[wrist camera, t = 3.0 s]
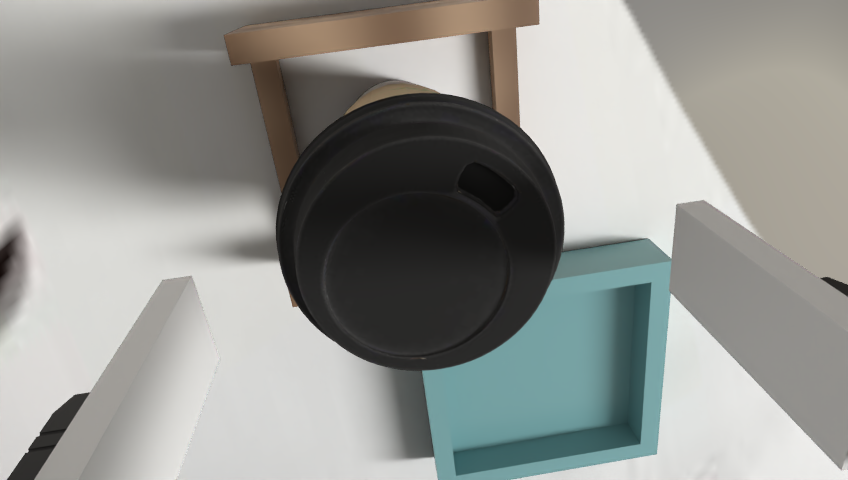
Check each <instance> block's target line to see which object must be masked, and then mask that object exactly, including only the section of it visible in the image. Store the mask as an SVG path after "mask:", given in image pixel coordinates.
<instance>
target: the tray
mask: <svg viewBox="0 0 848 480" xmlns="http://www.w3.org/2000/svg"><path fill="white" fill-rule="evenodd" d="M671 261H672V259H671V258H670V257H669V256H667V255H666V254H665V253H664V252H663V251H662V250H661V249H660V248H658V247H657V246H656V245H655V244H654V243H653V242H652V241H651V240H650V239H644V240H637V241H631V242H624V243H618V244H611V245H605V246H598V247H592V248H585V249H579V250H572V251H566V252H562V253H561V257H560V261H559V264H558V267H557V270H556V272H555V275H554V277H553V280H552V282H551V284H550V285H549V287H548V289H547V292H546V294H545V296H544V298H543V300H542V302H541V303H540V305H539V307H538V308H537V310H536V311H535V313H534V314H533V315H532V317H531V318H530V319H529V320H528V322H527V323H526V324H525V325H524V326H523V327H522V328H521V329H520V330H519V331H518V332H517V333H516V334H515V335H514V336H513V337H511V338H510V339H509V340H508V341H506V342H505V343H504V344H502V345H501V346H499V347H498V348H496V349H495V350H493V351H491V352H490V353H488V354H486V355H484V356H482V357H480V358H477V359H475V360H472V361H470V362H467V363H464V364H461V365H457V366H453V367H449V368H444V369H437V370H426V371H422V376H423V383H424V390H425V397H426V404H427V411H428V417H429V424H430V431H431V438H432V445H433V451H434V458H435V464H436V471H437V477H438V480H511V479H517V478H522V477H528V476H534V475H540V474H545V473H551V472H557V471H563V470H568V469H574V468H580V467H586V466H591V465H597V464H603V463H609V462H614V461H620V460H626V459H632V458H637V457H643V456H649V455H655V454H657V446H658V434H659V422H660V410H661V399H662V387H663V375H664V364H665V352H666V340H667V329H668V317H669V305H670V294H671V292H670V291H669V283H670V272H671Z"/></svg>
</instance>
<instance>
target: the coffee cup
mask: <svg viewBox="0 0 848 480" xmlns="http://www.w3.org/2000/svg"><path fill="white" fill-rule="evenodd" d="M276 241H277V249H278V254H279V261H280V266H281V270H282V274H283V277H284V279H285V282H286V285H287V287H288V289H289V291H290V294H291V295H292V297H293V299H294V301H295V302H296V304H297V305H298V307H299V308H300V310H301V311H302V312H303V314H304V315H305V316H306V317H307V318H308V319H309V321H310V322H311V323H312V324H313V325H314V326H315V327H317V328H318V329H319V330H320V331H321V332H322V333H324V334H325V335H326V336H327V337H329V338H330V339H332V340H333V341H335V342H336V343H337V344H339V345H340V346H341V347H343V348H344V349H346V350H347V351H349V352H350V353H352V354H354V355H356V356H358V357H360V358H362V359H364V360H366V361H369V362H372V363H374V364H377V365H381V366H385V367H389V368H394V369H400V370H411V371H426V370H437V369H444V368H449V367H453V366H457V365H461V364H464V363H467V362H470V361H472V360H475V359H477V358H480V357H482V356H484V355H486V354H488V353H490V352H491V351H493V350H495V349H496V348H498V347H499V346H501V345H502V344H504V343H505V342H506V341H508V340H509V339H510V338H511V337H513V336H514V335H515V334H516V333H517V332H518V331H519V330H520V329H521V328H522V327H523V326H524V325H525V324H526V323H527V322H528V320H529V319H530V318H531V317H532V315H533V314H534V313H535V311H536V310H537V308H538V307H539V305H540V303H541V302H542V300H543V298H544V296H545V294H546V292H547V289H548V287H549V285H550V284H551V282H552V280H553V277H554V275H555V272H556V270H557V267H558V264H559V261H560V257H561V253H562V248H563V241H564V212H563V206H562V201H561V197H560V193H559V190H558V187H557V185H556V181H555V178H554V176H553V173H552V171H551V168H550V166H549V165H548V163H547V161H546V159H545V157H544V155H543V154H542V152H541V151H540V149H539V148H538V147H537V145H536V144H535V143H534V142H533V140H532V139H531V138H530V137H529V136H528V135H527V134H526V133H525V132H524V131H523V130H522V129H521V128H520V127H519V126H517V125H516V124H515V123H514V122H513V121H511V120H510V119H508V118H507V117H505V116H504V115H502V114H501V113H499V112H497V111H495V110H493V109H492V108H490V107H488V106H485V105H483V104H481V103H478V102H476V101H472V100H469V99H466V98H463V97H458V96H453V95H447V94H440V93H438V92H436V91H435V90H432V89H429V88H426V87H423V86H420V85H416V84H413V83H410V82H406V81H398V80H395V81H386V82H383V83H380V84H377V85H375V86H373V87H372V88H370V89H369V90H367V91H366V92H365V93H364V94H363V95H362V96H361V97H360V98H358V100H357V101H356V102H355V103H354V104H353V105H352V106H351V107H350V108H349V109H348V110H347V111H346V113H345V114H344V116H342V117H341V118H339V119H338V120H336V121H335V122H334V123H332V124H331V125H329V126H328V127H327V128H326V129H325V130H324V131H322V132H321V133H320V134H319V135H318V136H317V137H316V138H315V139H314V140H313V141H312V142H311V143H310V144H309V145H308V147H307V148H306V149H305V150H304V152H303V153H302V154H301V155H300V157H299V158H298V160H297V162H296V163H295V165H294V166H293V168H292V170H291V172H290V174H289V176H288V178H287V180H286V183H285V185H284V188H283V190H282V194H281V197H280V201H279V206H278V211H277V219H276Z"/></svg>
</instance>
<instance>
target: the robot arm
mask: <svg viewBox="0 0 848 480" xmlns="http://www.w3.org/2000/svg"><path fill="white" fill-rule="evenodd" d="M669 291H670V292H671V293H672V294H673V295H674V297H675V298H676V299H677V300H678V301H679V302H680V303H681V304H682V305H683V306H684V307H685V308H686V309H687V310H688V311H689V312H690V313H691V314H692V315H693V316H694V317H695V318H696V319H697V320H698V322H699V323H700V324H701V325H702V326H703V327H704V328H705V329H706V330H707V331H708V332H709V333H710V334H711V335H712V336H713V337H714V338H715V339H716V340H717V341H718V342H719V343H720V344H721V345H722V347H723V348H724V349H725V350H726V351H727V352H728V353H729V354H730V355H731V356H732V357H733V358H734V359H735V360H736V361H737V362H738V363H739V364H740V365H741V366H742V367H743V368H744V369H745V371H746V372H747V373H748V374H749V375H750V376H751V377H752V378H753V379H754V380H755V381H756V382H757V383H758V384H759V385H760V386H761V387H762V388H763V389H764V390H765V391H766V392H767V393H768V394H769V396H770V397H771V398H772V399H773V400H774V401H775V402H776V403H777V404H778V405H779V406H780V407H781V408H782V409H783V410H784V411H785V412H786V413H787V414H788V415H789V416H790V417H791V418H792V420H793V421H794V422H795V423H796V424H797V425H798V426H799V427H800V428H801V429H802V430H803V431H804V432H805V433H806V434H807V435H808V436H809V437H810V438H811V439H812V440H813V441H814V442H815V443H816V445H817V446H818V447H819V448H820V449H821V450H822V451H823V452H824V453H825V454H826V455H827V456H828V457H829V458H830V459H831V460H832V461H833V462H834V463H835V464H836V465H837V466H838V467H839V468H840V470H841V471H842V470H848V285H847V284H844V283H842V282H839V281H836V280H834V279H831V278H829V277H824V278H819V277H817V276H816V275H814V274H813V273H811V272H810V271H808V270H807V269H806V268H804V267H803V266H801V265H800V264H798V263H797V262H795V261H794V260H792V259H791V258H789V257H787V256H786V255H785V254H783V253H782V252H780V251H779V250H777V249H776V248H774V247H773V246H771V245H770V244H768V243H767V242H765V241H764V240H762V239H761V238H759V237H758V236H756V235H755V234H753V233H752V232H750V231H749V230H747V229H746V228H744V227H743V226H741V225H740V224H739V223H737V222H736V221H734V220H733V219H731V218H730V217H728V216H727V215H725V214H724V213H722V212H721V211H719V210H718V209H716V208H715V207H713V206H712V205H710V204H709V203H707V202H706V201H704V200H702V201H695V202H688V203H682V204H677V205H676V216H675V228H674V239H673V250H672V261H671V272H670V283H669ZM219 362H220V357H219V354H218V351H217V348H216V345H215V342H214V339H213V336H212V334H211V331H210V328H209V325H208V322H207V319H206V316H205V313H204V310H203V307H202V304H201V301H200V298H199V295H198V292H197V290H196V287H195V284H194V281H193V278H192V276H187V277H180V278H173V279H167V280H162V282H161V283H160V285H159V286H158V288H157V289H156V291H155V293H154V294H153V296H152V297H151V299H150V300H149V302H148V303H147V305H146V307H145V308H144V310H143V311H142V313H141V314H140V316H139V317H138V319H137V321H136V322H135V324H134V325H133V327H132V328H131V330H130V331H129V333H128V335H127V336H126V338H125V339H124V341H123V342H122V344H121V345H120V347H119V349H118V350H117V352H116V353H115V355H114V356H113V358H112V359H111V361H110V363H109V364H108V366H107V367H106V369H105V370H104V372H103V373H102V375H101V377H100V378H99V380H98V381H97V383H96V384H95V386H94V387H93V389H92V391H91V392H90V393H83V394H77V395H74V396H73V397H72V398H70V399H69V400H68V401H67V402H66V403H65V404H63V405H62V406H61V407H60V408H59V409H58V410H56V411H55V412H54V413H53V414H52V416H51V417H50V419H49V420H48V422H47V423H46V424H45V426H44V427H43V429H42V430H41V432H40V436H39V437H36V439H35V440H34V442H33V443H32V445H31V446H30V447H29V449H28V450H29V452H28V453H25V455H24V456H23V457H22V459H21V460H20V462H19V463H18V465H17V466H16V468H15V469H14V470H13V472H12V473H11V475H10V476H9V478H8V479H7V480H177V478H178V475H179V472H180V469H181V467H182V464H183V461H184V458H185V456H186V453H187V450H188V447H189V445H190V442H191V439H192V436H193V434H194V431H195V428H196V425H197V423H198V420H199V417H200V414H201V412H202V409H203V406H204V403H205V401H206V398H207V395H208V392H209V389H210V387H211V384H212V381H213V378H214V376H215V373H216V370H217V367H218V365H219Z"/></svg>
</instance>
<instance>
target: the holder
mask: <svg viewBox="0 0 848 480" xmlns="http://www.w3.org/2000/svg"><path fill="white" fill-rule="evenodd" d="M538 24H539V0H437V1H430V2H422V3H415V4H407V5H399V6H392V7H384V8H376V9H369V10H361V11H354V12H346V13H338V14H331V15H323V16H315V17H308V18H300V19H293V20H285V21H277V22H270V23H262V24H254V25H247V26H244V27H241V28H239V29H237V30H234V31H232V32H230V33H227V34H225V35H224V39H225V42H226V46H227V50H228V54H229V58H230V62H231V66H233V65H241V64H248V63H250V64H251V68H252V72H253V76H254V80H255V84H256V89H257V93H258V97H259V101H260V105H261V109H262V114H263V118H264V122H265V126H266V130H267V134H268V139H269V143H270V147H271V151H272V155H273V159H274V164H275V168H276V172H277V176H278V180H279V184H280V189H281V193H282V190H283V188H284V185H285V183H286V180H287V178H288V176H289V174H290V172H291V170H292V168H293V166H294V165H295V163H296V162H297V160H298V158H299V157H300V155H299V151H298V146H297V142H296V137H295V133H294V128H293V123H292V119H291V114H290V110H289V105H288V100H287V96H286V91H285V87H284V82H283V78H282V73H281V68H280V64H279V59H285V58H293V57H300V56H308V55H315V54H322V53H330V52H337V51H345V50H352V49H360V48H367V47H375V46H382V45H389V44H397V43H404V42H412V41H419V40H427V39H434V38H441V37H449V36H456V35H464V34H471V33H479V32H486V31H488V45H489V61H490V76H491V92H492V108H493V110H495V111H497V112H499V113H501V114H502V115H504V116H505V117H507V118H508V119H510V120H511V121H513V122H514V123H515V124H516V125H517V126H519V127H520V115H519V92H518V68H517V45H516V27H523V26H531V25H538ZM288 290H289V289H288ZM289 294H290V291H289ZM290 298H291V302H292V306H293V307H297V306H298V305H297V304H296V302H295V301H294V299H293V297H292V295H291V294H290Z"/></svg>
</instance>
